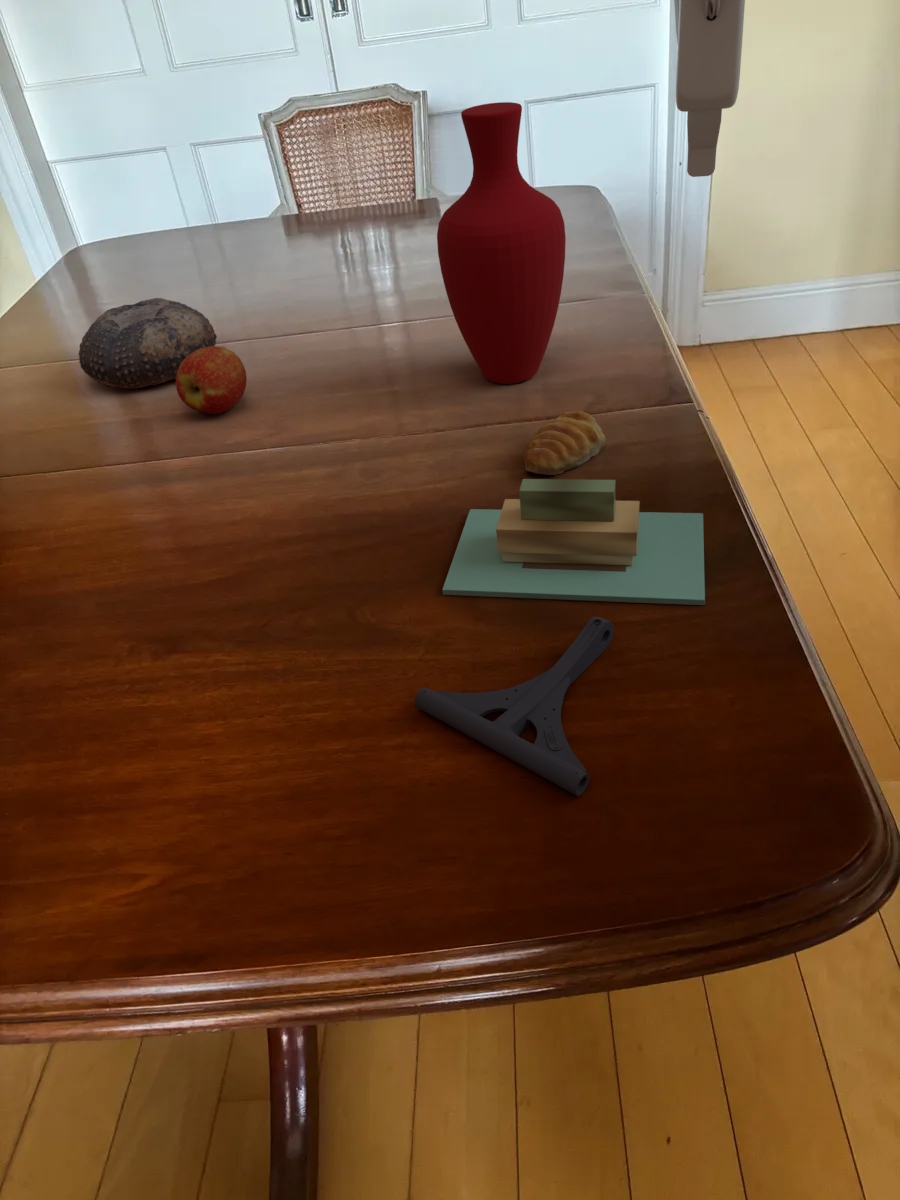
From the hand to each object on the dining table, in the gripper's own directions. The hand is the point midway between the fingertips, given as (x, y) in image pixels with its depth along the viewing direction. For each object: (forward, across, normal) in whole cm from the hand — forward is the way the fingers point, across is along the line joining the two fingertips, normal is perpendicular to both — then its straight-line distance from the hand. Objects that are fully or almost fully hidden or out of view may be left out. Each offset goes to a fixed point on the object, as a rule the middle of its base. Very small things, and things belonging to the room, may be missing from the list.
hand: (700, 157), depth 64 cm
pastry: (+31, +12, +12) cm, 35 cm away
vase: (+31, +33, +21) cm, 50 cm away
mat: (+31, -6, +9) cm, 33 cm away
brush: (+30, -6, +10) cm, 32 cm away
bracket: (+31, -24, +9) cm, 40 cm away
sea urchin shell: (+31, +37, +73) cm, 88 cm away
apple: (+31, +24, +57) cm, 69 cm away
